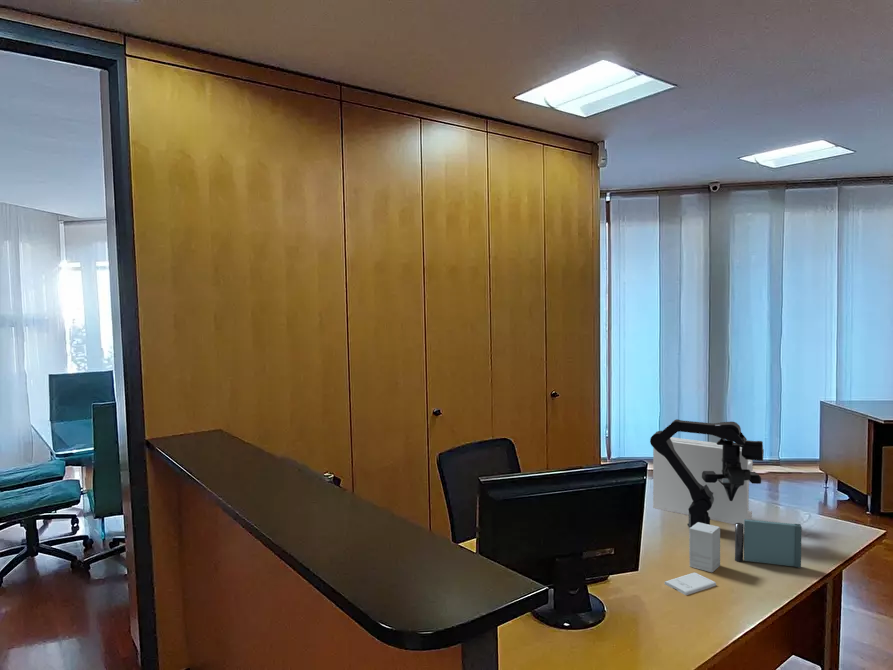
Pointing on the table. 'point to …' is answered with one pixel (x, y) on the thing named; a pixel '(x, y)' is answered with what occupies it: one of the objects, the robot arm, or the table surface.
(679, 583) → the external hard drive
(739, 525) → the gate post
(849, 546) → the table surface
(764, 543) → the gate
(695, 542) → the supplement box
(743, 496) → the block
